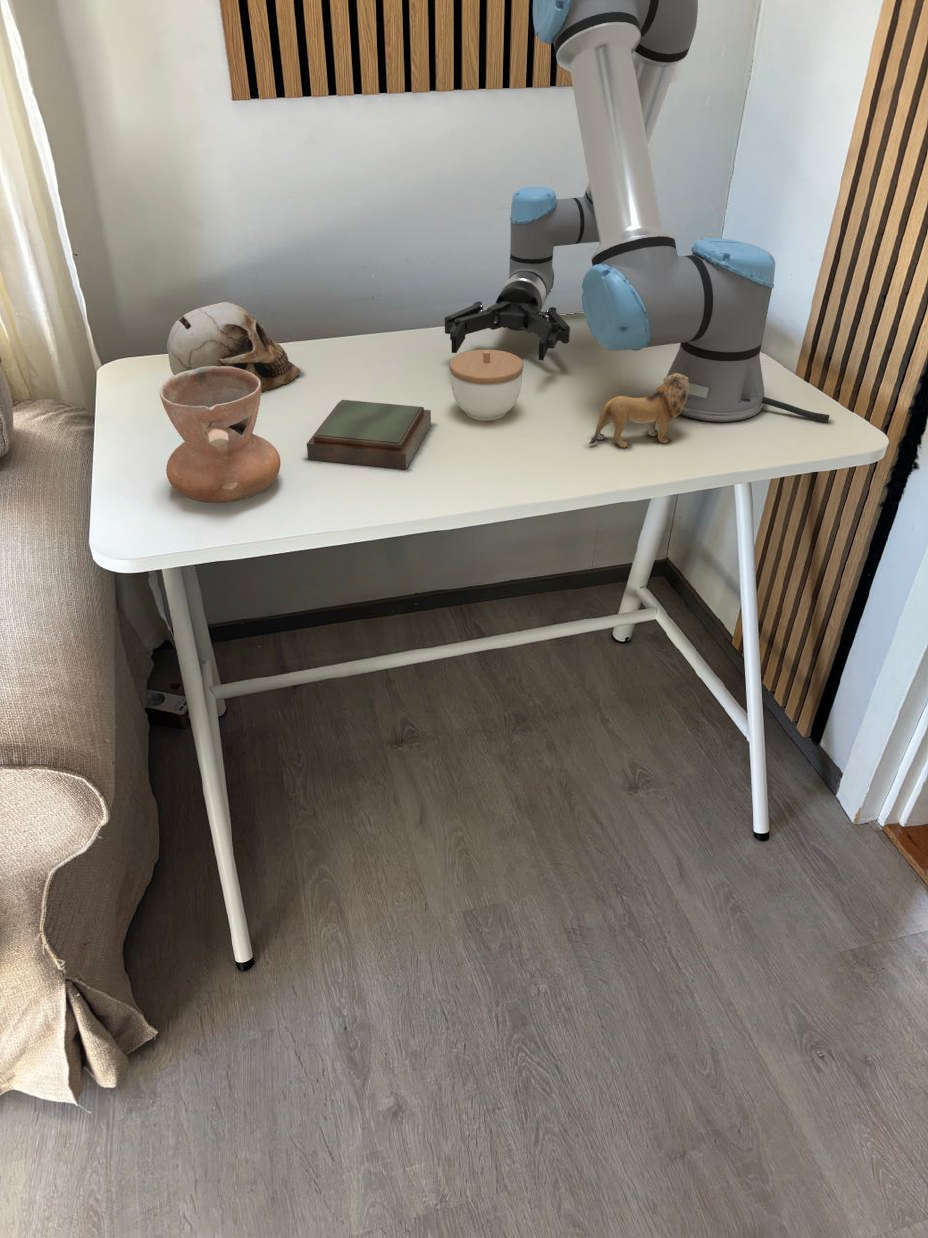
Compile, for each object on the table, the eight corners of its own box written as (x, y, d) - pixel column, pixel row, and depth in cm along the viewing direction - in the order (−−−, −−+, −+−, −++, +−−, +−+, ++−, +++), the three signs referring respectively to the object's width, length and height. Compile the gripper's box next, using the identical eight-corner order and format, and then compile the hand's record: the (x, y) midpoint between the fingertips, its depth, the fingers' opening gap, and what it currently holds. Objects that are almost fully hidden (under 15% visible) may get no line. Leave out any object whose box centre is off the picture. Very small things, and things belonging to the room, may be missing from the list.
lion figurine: (672, 424, 141) (680, 365, 136) (691, 439, 137) (700, 379, 132) (581, 439, 137) (586, 379, 132) (597, 456, 133) (603, 394, 128)
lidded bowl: (444, 425, 141) (443, 363, 135) (456, 395, 150) (456, 336, 144) (517, 430, 140) (519, 368, 134) (525, 399, 148) (527, 340, 142)
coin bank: (308, 370, 157) (291, 290, 148) (243, 421, 146) (221, 338, 137) (233, 356, 163) (213, 279, 155) (165, 404, 152) (139, 324, 144)
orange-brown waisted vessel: (290, 511, 121) (276, 405, 113) (171, 526, 119) (149, 419, 110) (275, 448, 135) (262, 350, 127) (169, 460, 133) (149, 361, 124)
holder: (431, 425, 141) (430, 404, 139) (406, 469, 130) (405, 447, 128) (340, 416, 144) (338, 395, 142) (308, 459, 133) (305, 437, 131)
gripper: (592, 329, 164) (576, 378, 148) (449, 318, 168) (419, 364, 152) (595, 284, 160) (580, 330, 143) (449, 274, 164) (417, 317, 147)
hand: (497, 348), depth 147 cm, fingers open, 13 cm apart
